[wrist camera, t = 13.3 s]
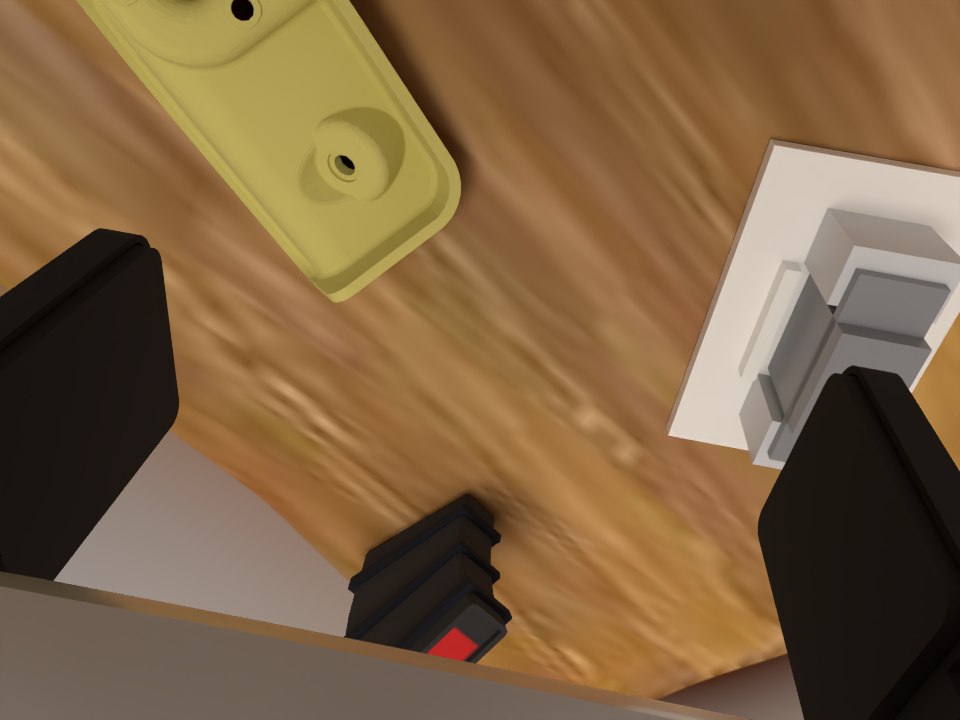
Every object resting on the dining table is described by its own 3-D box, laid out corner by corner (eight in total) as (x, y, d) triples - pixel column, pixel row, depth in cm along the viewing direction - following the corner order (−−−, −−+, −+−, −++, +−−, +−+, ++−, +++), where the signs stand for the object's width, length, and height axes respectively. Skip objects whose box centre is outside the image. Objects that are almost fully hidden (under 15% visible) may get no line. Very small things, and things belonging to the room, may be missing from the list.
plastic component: (480, 200, 36) (320, 320, 36) (443, 177, 43) (308, 279, 43) (197, -233, 27) (-20, -72, 27) (205, -179, 33) (31, -48, 33)
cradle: (770, 139, 35) (796, 176, 31) (1020, 182, 35) (1084, 227, 30) (666, 425, 45) (675, 485, 41) (859, 461, 45) (889, 525, 40)
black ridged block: (328, 582, 55) (329, 731, 41) (452, 463, 55) (496, 572, 41) (364, 610, 57) (377, 763, 42) (485, 493, 56) (540, 609, 42)
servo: (829, 228, 36) (874, 295, 30) (909, 243, 36) (971, 313, 30) (752, 402, 42) (777, 485, 36) (820, 415, 42) (856, 500, 36)
